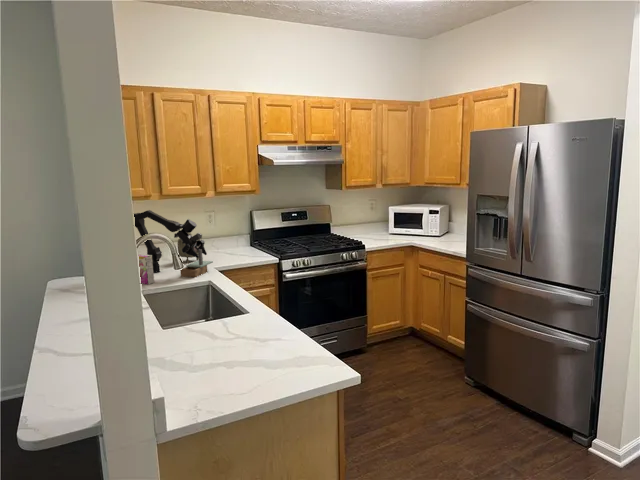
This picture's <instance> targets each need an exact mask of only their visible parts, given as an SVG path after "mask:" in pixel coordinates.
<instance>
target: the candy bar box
mask: <svg viewBox="0 0 640 480" xmlns="http://www.w3.org/2000/svg"><path fill="white" fill-rule="evenodd" d="M137 254H138V256H139V267H140V277H141V283H143V285H152V284H155V276H154V275H155V273H153V261H152V255H147V254H144V253H143V254H142V253H137ZM141 283H140V284H141ZM151 283H152V284H151Z"/></svg>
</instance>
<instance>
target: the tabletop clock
mask: <svg viewBox="0 0 640 480" xmlns="http://www.w3.org/2000/svg"><path fill="white" fill-rule="evenodd" d="M188 234H189V235H190V236H191V235H192V236H193V234H192V232H191V233H188ZM199 240H201V239H198V240H197V242H198V241H199ZM182 242H183V241H182V240H181V239H180V238H178V239H177V253H179V254H178V256H179V255H180V256H179V257H181V258H186V260H185V261H186V263H187V264H190V260H189V259H190V258H196V257H194V256H191V255H189V254H185V253H183V252H182V248H183V247H184V246H185V244H183V243H182ZM197 242H196V243H197ZM194 250H195V252H196V253H197V254H198V250H197V249H196V248H195V247H194ZM196 261H199V258H196Z"/></svg>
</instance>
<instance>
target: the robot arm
mask: <svg viewBox="0 0 640 480" xmlns="http://www.w3.org/2000/svg"><path fill="white" fill-rule="evenodd" d="M133 214H134V217H135V226H134V227H135V228H136V229H137V232H138V233H139V235H140V237H141V236H143V235H145V234H148V233H149V232H148V229H147V227H146V223H145V219H147V218H148V219H150V220H153V222H156V223H158V224H160V225H162V226H163V227H165V228H166V229H167V230H168V231H169V232H170V233H173V234H174V236H173V238H174V239H177V238H178V239H181V240H182V241H183V242H182V243H183V244H185V246H184V247H183V248H182V252H183V253H185V254H189V255H191V256H194V257H193V258H199V255H198V254H197V253H196V252H195V250H194V247H195V248H196V249H197V250H200V249H202V255H205V256H207V255H208V253H207V251H206V249H205V244H206V243H205V242H206V241H205V240H204V239H202V238H203V234H202V233H201V232H197V233H196V234H194V235H193V234H192V232H193V231H194V229H196V228H197V227H198V226H197V223H196V222H194V221H193V220H191V219H189V218H188V219H187V220H186V221H185V222H184V223H180V222H178V221H176V220H171V219H168V218H166V217H164V216H162V215H160V214H159V213H156V212H154V211H153V210H150V209H148V210H145V211H142V212H136V213H133ZM175 232H176V233H175ZM188 233H191V234H192V235H191V236H190V235H189V234H188ZM198 239H200V240H199V241H198V242H197V240H198ZM196 242H197V243H196ZM143 243H144V245H145V247H146V251H147V252H146V253H147V254H146V255H152V261H153V273H154V274H156V273H161V268H160V267H161V266H160V264H159V263H160V260H161V258H162V256H163V254H162V252H163V251H162V250H161V249H160V247H159V246H158V247H157V246H155V244H154V242H153V239H151V240H147V241H146V242H144V241H143Z"/></svg>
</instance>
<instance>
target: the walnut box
mask: <svg viewBox="0 0 640 480" xmlns="http://www.w3.org/2000/svg"><path fill="white" fill-rule="evenodd" d="M181 269H182V270H179V272H180V277H181V278H194V277H196V278H198V277H200V276H202V275H204V274H207V273H208V265H206V266H203V267H183V268H181ZM206 272H207V273H206ZM201 274H202V275H201ZM199 275H200V276H199ZM197 276H198V277H197Z"/></svg>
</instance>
